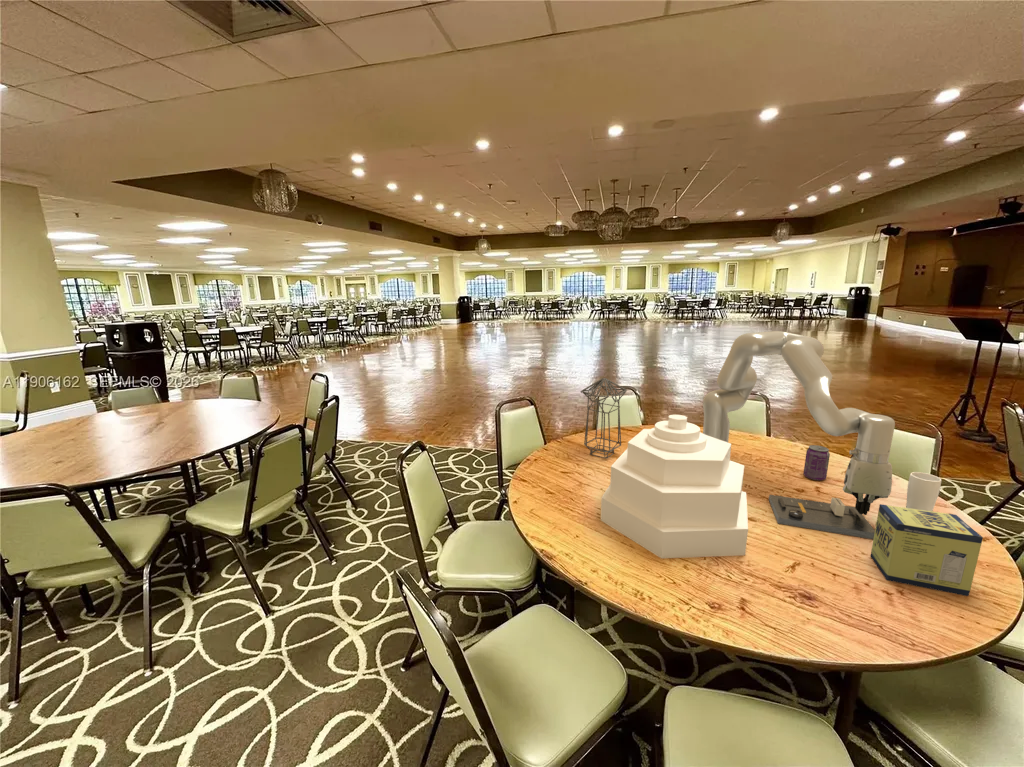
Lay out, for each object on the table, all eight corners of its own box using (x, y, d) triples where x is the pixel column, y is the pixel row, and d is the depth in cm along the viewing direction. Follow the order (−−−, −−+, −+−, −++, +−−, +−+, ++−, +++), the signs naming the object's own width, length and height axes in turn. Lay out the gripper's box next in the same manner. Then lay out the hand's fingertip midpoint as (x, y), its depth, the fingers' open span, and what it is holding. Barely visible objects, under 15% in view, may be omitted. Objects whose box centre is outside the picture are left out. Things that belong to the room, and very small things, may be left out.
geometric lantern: (626, 453, 184) (629, 377, 176) (608, 465, 173) (610, 384, 165) (595, 444, 195) (597, 372, 186) (576, 455, 184) (578, 379, 175)
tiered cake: (641, 475, 162) (646, 392, 154) (772, 517, 130) (785, 416, 123) (573, 518, 132) (575, 418, 124) (722, 586, 100) (735, 457, 93)
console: (777, 523, 126) (779, 513, 126) (768, 499, 141) (769, 491, 140) (876, 539, 117) (878, 529, 117) (855, 512, 132) (857, 503, 131)
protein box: (868, 556, 110) (878, 503, 107) (945, 569, 104) (958, 514, 101) (885, 580, 101) (896, 523, 98) (970, 597, 95) (985, 537, 92)
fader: (835, 515, 126) (836, 504, 125) (830, 507, 131) (831, 497, 130) (843, 516, 125) (845, 505, 125) (837, 508, 130) (839, 498, 129)
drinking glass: (923, 518, 128) (933, 473, 125) (937, 529, 122) (947, 482, 119) (896, 514, 130) (905, 470, 127) (908, 525, 124) (918, 479, 121)
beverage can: (818, 473, 160) (822, 444, 158) (830, 482, 153) (835, 451, 151) (799, 473, 161) (803, 444, 158) (810, 481, 154) (814, 451, 151)
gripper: (844, 457, 121) (835, 513, 125) (910, 464, 115) (898, 523, 119) (836, 448, 128) (828, 502, 132) (897, 454, 122) (887, 511, 126)
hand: (861, 512), depth 125 cm, fingers closed
